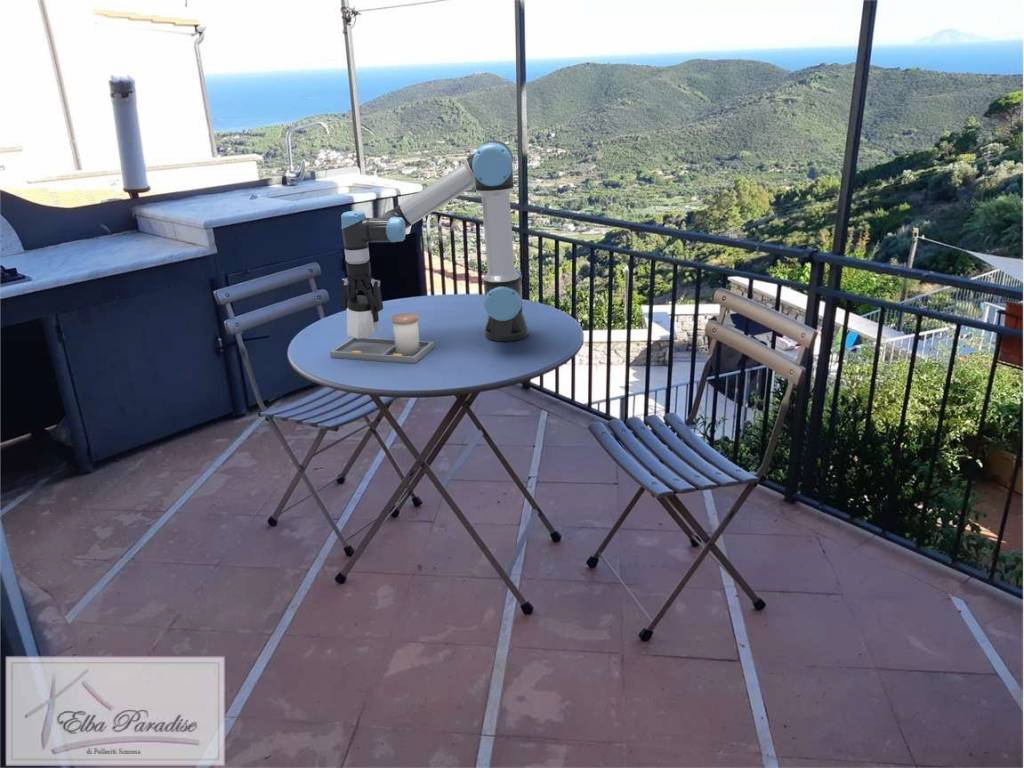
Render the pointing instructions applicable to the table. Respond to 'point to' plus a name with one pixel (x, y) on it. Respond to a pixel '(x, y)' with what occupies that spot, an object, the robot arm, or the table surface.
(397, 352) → the white jar with lid
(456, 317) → the table surface
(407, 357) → the divided grey tray
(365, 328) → the jar
